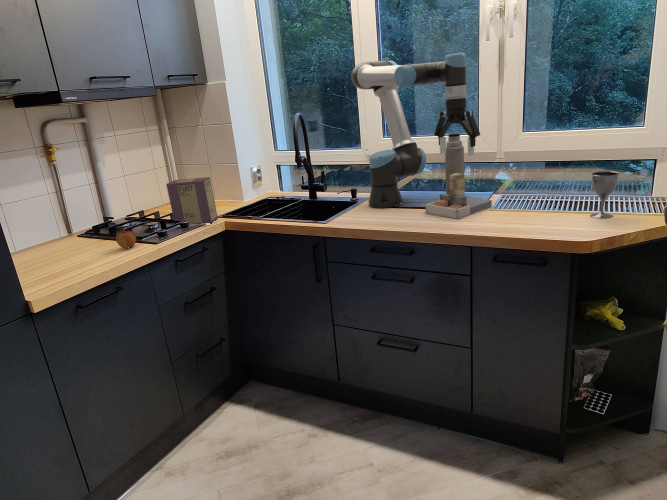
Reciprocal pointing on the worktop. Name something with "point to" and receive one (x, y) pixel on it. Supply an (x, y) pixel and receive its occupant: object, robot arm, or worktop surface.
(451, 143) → the thermos bottle
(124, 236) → the apple
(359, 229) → the worktop surface
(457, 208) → the tile
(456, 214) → the tray
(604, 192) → the wine glass
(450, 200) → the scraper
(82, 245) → the worktop surface
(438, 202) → the tile
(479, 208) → the board
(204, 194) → the box
